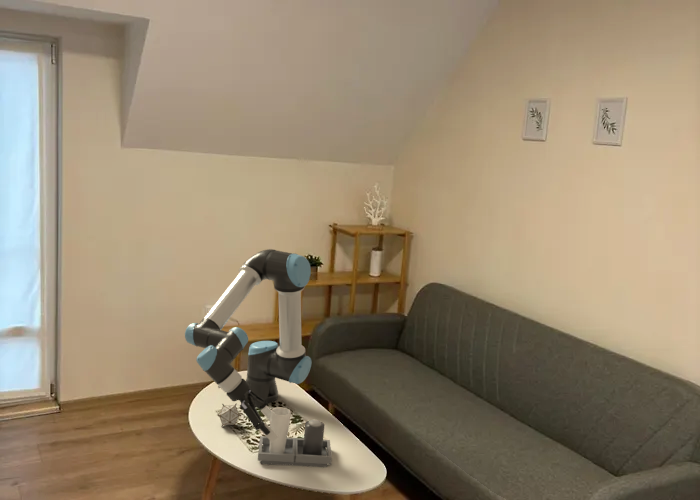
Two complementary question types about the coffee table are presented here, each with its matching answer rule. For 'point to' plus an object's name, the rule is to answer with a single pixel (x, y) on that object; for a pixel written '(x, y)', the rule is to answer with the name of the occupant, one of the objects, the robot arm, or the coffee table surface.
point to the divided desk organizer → (300, 448)
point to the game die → (229, 415)
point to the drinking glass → (279, 428)
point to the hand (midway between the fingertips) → (275, 430)
